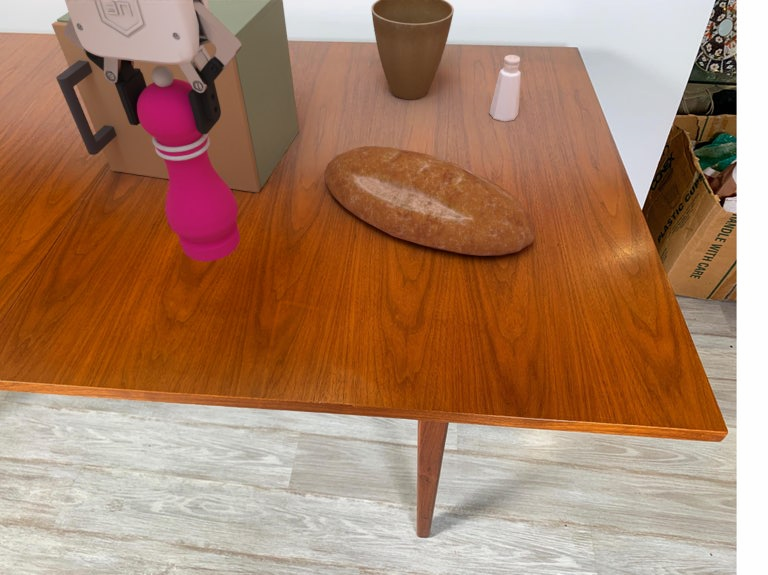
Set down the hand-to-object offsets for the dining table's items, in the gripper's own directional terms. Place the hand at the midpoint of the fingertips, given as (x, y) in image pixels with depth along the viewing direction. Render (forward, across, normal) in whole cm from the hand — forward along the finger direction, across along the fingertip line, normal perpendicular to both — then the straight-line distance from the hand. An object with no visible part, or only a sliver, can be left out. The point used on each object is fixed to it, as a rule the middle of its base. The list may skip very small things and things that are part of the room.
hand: (175, 120), depth 53 cm
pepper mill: (+15, 0, 0) cm, 15 cm away
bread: (+29, +19, +28) cm, 45 cm away
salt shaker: (+29, +28, +60) cm, 72 cm away
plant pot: (+29, +9, +65) cm, 72 cm away
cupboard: (+29, -21, +37) cm, 51 cm away
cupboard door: (+29, -21, +24) cm, 43 cm away
